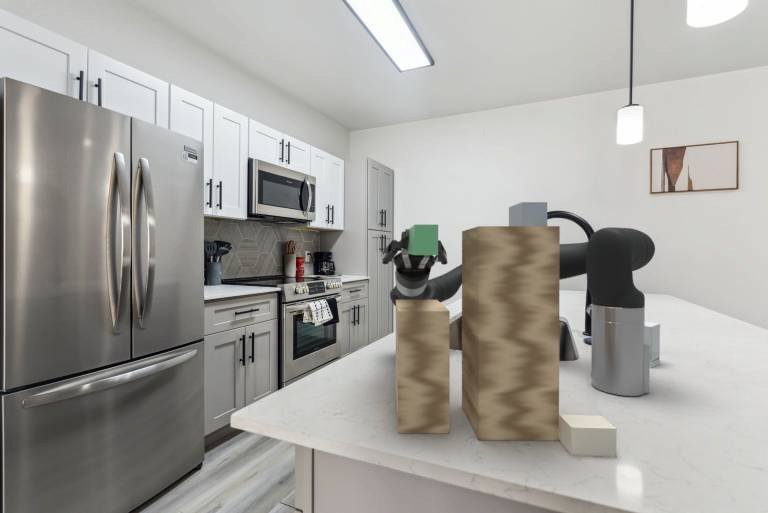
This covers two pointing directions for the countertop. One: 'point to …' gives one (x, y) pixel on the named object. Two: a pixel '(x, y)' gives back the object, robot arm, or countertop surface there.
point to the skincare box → (653, 342)
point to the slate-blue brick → (528, 214)
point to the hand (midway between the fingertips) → (418, 233)
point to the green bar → (423, 240)
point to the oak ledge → (422, 366)
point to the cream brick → (587, 435)
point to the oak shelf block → (511, 331)
